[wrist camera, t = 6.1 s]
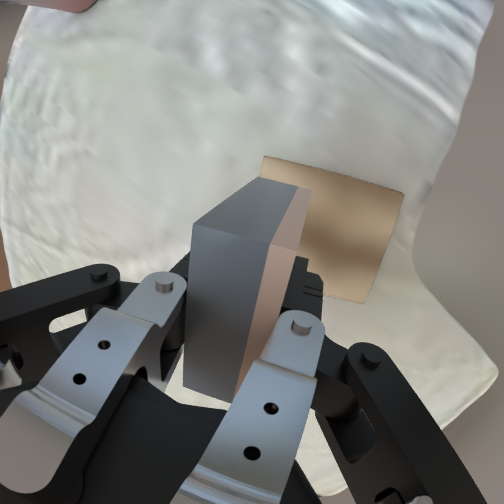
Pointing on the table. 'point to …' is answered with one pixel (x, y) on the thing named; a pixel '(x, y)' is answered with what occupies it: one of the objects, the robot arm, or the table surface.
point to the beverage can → (56, 4)
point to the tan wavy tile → (340, 226)
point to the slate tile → (239, 282)
